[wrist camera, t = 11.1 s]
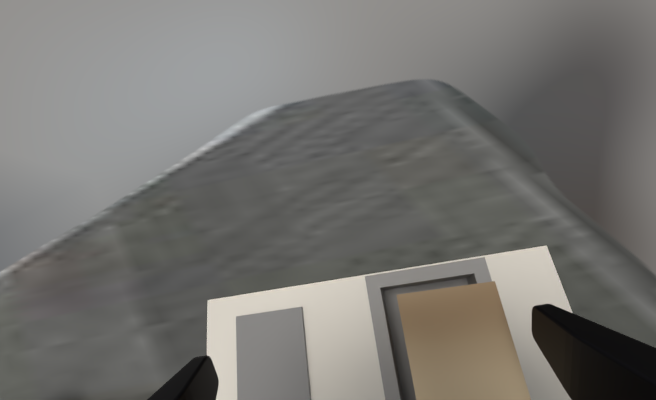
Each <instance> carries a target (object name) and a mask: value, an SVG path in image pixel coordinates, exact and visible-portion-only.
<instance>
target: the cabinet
mask: <svg viewBox="0 0 656 400" xmlns="http://www.w3.org/2000/svg"><path fill="white" fill-rule="evenodd" d="M492 281H495V283H496V286H497V290H498V293H499V296H500V300H501V303H502V306H503V309H504V313H505V316H506V319H507V323H508V326H509V329H510V332H511V336H512V339H513V342H514V345H515V349H516V352H517V355H518V359H519V362H520V365H521V368H522V372H523V375H524V378H525V382H526V385H527V388H528V391H529V395H530V398H531V400H571V398H570V397H569V395H568V394H567V392H566V391H565V389H564V388H563V386H562V384H561V383H560V381H559V379H558V378H557V376H556V375H555V373H554V371H553V370H552V368H551V366H550V365H549V363H548V361H547V360H546V358H545V357H544V355H543V353H542V352H541V350H540V348H539V347H538V345H537V343H536V342H535V340H534V338H533V335H532V308H533V307H534V306H536V305H542V304H551V305H554V306H556V307H559V308H561V309H564V310H566V311H568V312H571V313H573V312H572V310H571V307H570V305H569V302H568V300H567V297H566V294H565V292H564V289H563V287H562V284H561V282H560V279H559V276H558V274H557V271H556V269H555V266H554V264H553V261H552V258H551V256H550V253H549V251H548V248H547V246H541V247H534V248H528V249H522V250H516V251H510V252H503V253H497V254H491V255H485V256H479V257H472V258H466V259H460V260H454V261H448V262H441V263H435V264H429V265H423V266H417V267H410V268H404V269H398V270H392V271H386V272H379V273H373V274H367V275H361V276H355V277H348V278H342V279H336V280H330V281H324V282H317V283H311V284H305V285H299V286H293V287H286V288H280V289H274V290H268V291H262V292H255V293H249V294H243V295H237V296H231V297H224V298H218V299H212V300H208V305H207V356H210V358H211V359H212V362H213V365H214V367H215V370H216V373H217V376H218V380H219V386H218V391H217V396H216V400H416V395H415V390H414V384H413V379H412V374H411V369H410V363H409V358H408V353H407V348H406V342H405V337H404V332H403V326H402V321H401V316H400V311H399V305H398V300H397V295H398V294H405V293H412V292H419V291H427V290H434V289H441V288H448V287H456V286H463V285H470V284H477V283H485V282H492Z"/></svg>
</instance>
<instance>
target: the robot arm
mask: <svg viewBox="0 0 656 400" xmlns="http://www.w3.org/2000/svg"><path fill="white" fill-rule="evenodd" d="M532 335H533V338H534V340H535V342H536V343H537V345H538V347H539V348H540V350H541V352H542V353H543V355H544V357H545V358H546V360H547V361H548V363H549V365H550V366H551V368H552V370H553V371H554V373H555V375H556V376H557V378H558V379H559V381H560V383H561V384H562V386H563V388H564V389H565V391H566V392H567V394H568V395H569V397H570V398H571V400H656V348H654V347H652V346H650V345H647V344H645V343H642V342H640V341H638V340H635V339H633V338H630V337H628V336H626V335H623V334H621V333H619V332H616V331H614V330H611V329H609V328H607V327H604V326H602V325H599V324H597V323H595V322H592V321H590V320H587V319H585V318H583V317H580V316H578V315H575V314H573V313H571V312H568V311H566V310H564V309H561V308H559V307H556V306H554V305H551V304H542V305H536V306H534V307H533V308H532ZM218 386H219V380H218V376H217V373H216V370H215V367H214V365H213V362H212V359H211V358H210V356H200V357H195V358H193V359H192V360H191V361H190V362H189V363H188V364H186V365H185V366H184V367H183V368H182V369H181V370H180V371H179V372H178V373H176V374H175V375H174V376H173V377H172V378H171V379H170V380H169V381H168V382H166V383H165V384H164V385H163V386H162V387H161V388H160V389H159V390H158V391H156V392H155V393H154V394H153V395H152V396H151V397H150V398H149V399H147V400H216V396H217V391H218Z"/></svg>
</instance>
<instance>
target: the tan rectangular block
mask: <svg viewBox="0 0 656 400" xmlns="http://www.w3.org/2000/svg"><path fill="white" fill-rule="evenodd" d="M397 300H398V305H399V311H400V316H401V321H402V326H403V332H404V337H405V342H406V348H407V353H408V358H409V363H410V369H411V374H412V379H413V384H414V390H415V395H416V400H531V398H530V395H529V391H528V388H527V385H526V382H525V378H524V375H523V372H522V368H521V365H520V362H519V359H518V355H517V352H516V349H515V345H514V342H513V339H512V336H511V332H510V329H509V326H508V323H507V319H506V316H505V313H504V309H503V306H502V303H501V300H500V296H499V293H498V290H497V286H496V283H495V281H492V282H485V283H477V284H470V285H463V286H456V287H448V288H441V289H434V290H427V291H419V292H412V293H405V294H398V295H397Z"/></svg>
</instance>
